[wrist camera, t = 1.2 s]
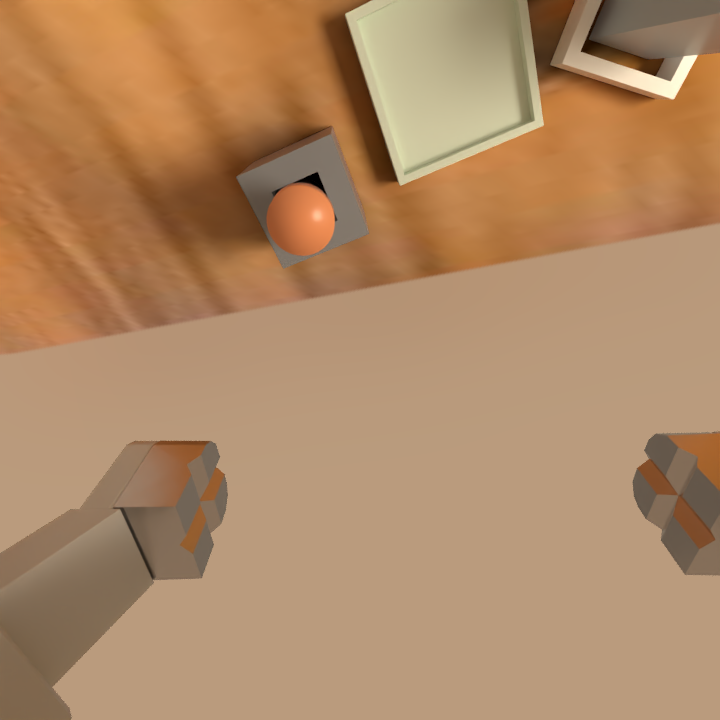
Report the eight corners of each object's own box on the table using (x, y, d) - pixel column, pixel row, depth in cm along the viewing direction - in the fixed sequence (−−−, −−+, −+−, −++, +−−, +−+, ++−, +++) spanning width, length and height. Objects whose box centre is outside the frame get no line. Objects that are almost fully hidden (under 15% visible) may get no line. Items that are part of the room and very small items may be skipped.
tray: (344, 17, 26) (345, 13, 24) (508, -64, 24) (517, -73, 23) (397, 181, 31) (400, 185, 29) (534, 123, 29) (543, 125, 28)
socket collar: (617, -108, 23) (637, -122, 22) (737, -59, 24) (764, -69, 23) (549, 64, 27) (562, 63, 26) (655, 99, 29) (673, 99, 27)
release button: (268, 182, 27) (253, 203, 22) (321, 159, 26) (317, 175, 21) (294, 235, 29) (285, 265, 24) (343, 215, 28) (345, 241, 23)
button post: (253, 161, 30) (236, 176, 25) (332, 125, 29) (330, 133, 24) (291, 240, 33) (283, 268, 28) (363, 210, 32) (369, 233, 27)
